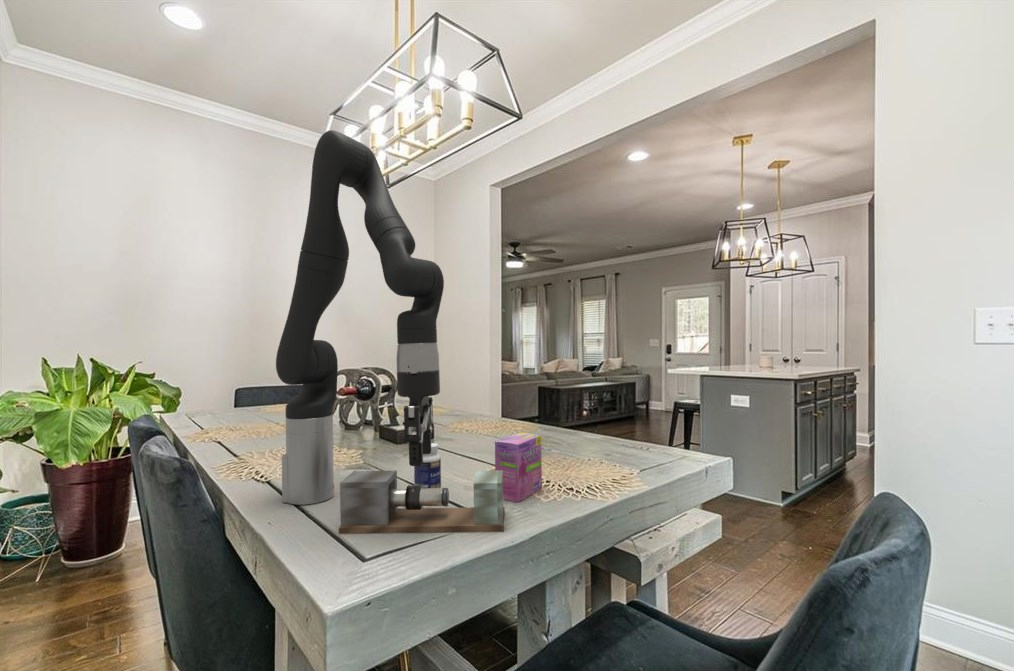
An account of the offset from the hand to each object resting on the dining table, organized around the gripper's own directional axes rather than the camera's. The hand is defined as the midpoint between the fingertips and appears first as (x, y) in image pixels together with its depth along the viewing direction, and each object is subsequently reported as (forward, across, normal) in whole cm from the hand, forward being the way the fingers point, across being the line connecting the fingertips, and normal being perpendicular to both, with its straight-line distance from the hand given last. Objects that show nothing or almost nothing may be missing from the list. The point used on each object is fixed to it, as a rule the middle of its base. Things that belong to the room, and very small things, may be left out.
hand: (420, 459), depth 84 cm
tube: (+9, 0, -4) cm, 10 cm away
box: (+12, -16, +18) cm, 26 cm away
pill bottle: (+11, -19, -2) cm, 22 cm away
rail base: (+11, 0, 0) cm, 11 cm away
